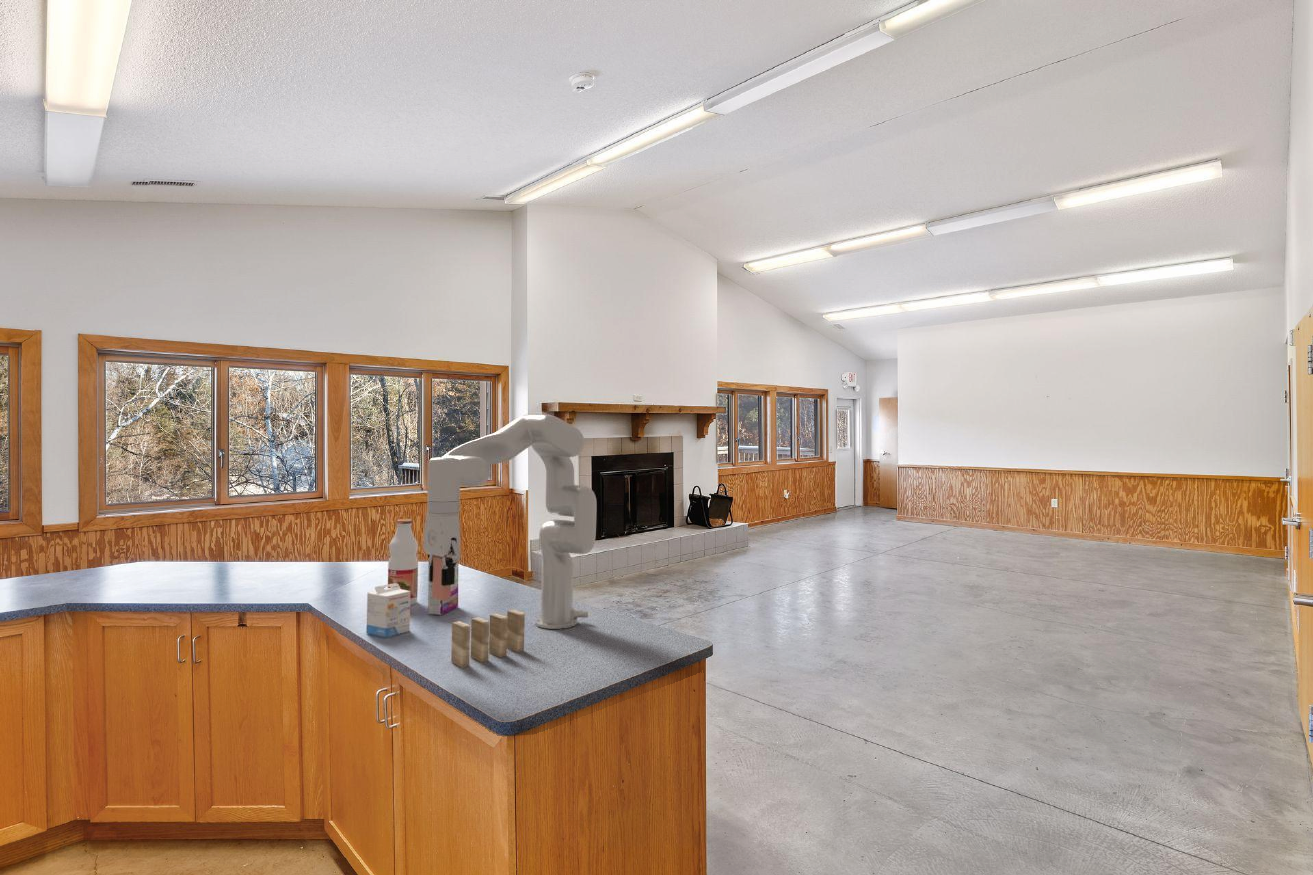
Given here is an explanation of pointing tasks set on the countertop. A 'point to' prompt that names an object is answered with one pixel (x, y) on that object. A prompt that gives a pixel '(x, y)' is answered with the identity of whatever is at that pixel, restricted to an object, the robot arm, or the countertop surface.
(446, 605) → the candy bar box
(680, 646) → the countertop surface
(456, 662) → the domino
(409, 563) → the fruit juice
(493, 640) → the domino
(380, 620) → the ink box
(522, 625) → the domino
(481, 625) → the domino
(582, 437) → the robot arm
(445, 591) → the domino
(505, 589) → the countertop surface
